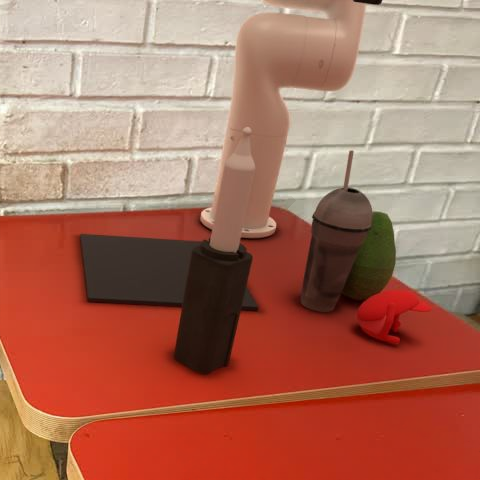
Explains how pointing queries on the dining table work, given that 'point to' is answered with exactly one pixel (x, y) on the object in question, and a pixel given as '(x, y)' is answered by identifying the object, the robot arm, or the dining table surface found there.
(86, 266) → the mat
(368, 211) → the beverage cup
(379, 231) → the fruit
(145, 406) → the dining table surface
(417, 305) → the red animal figurine
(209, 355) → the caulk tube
